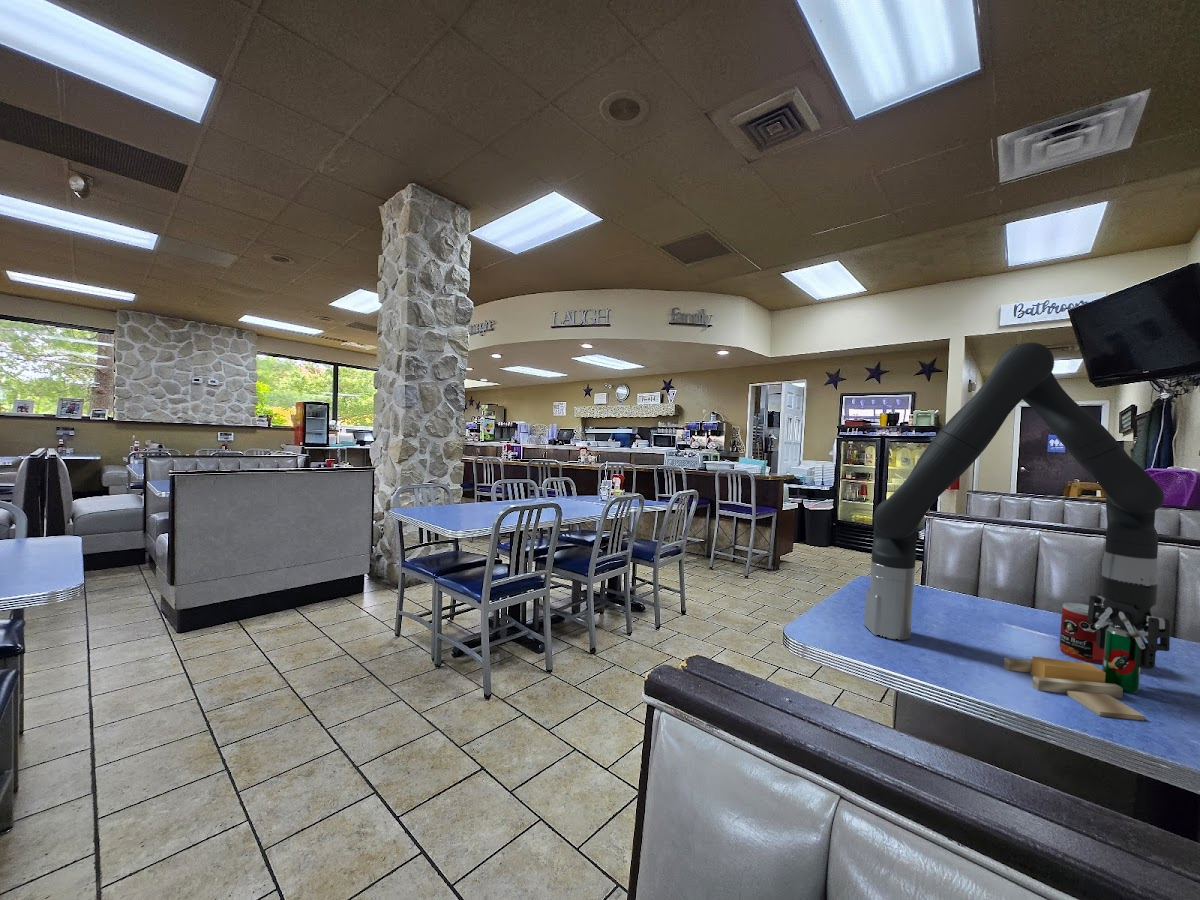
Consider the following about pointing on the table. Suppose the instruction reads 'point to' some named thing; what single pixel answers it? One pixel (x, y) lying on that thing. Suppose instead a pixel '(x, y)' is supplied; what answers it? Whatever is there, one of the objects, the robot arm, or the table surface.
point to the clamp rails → (1063, 681)
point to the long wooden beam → (1066, 670)
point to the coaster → (1105, 705)
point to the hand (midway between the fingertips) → (1123, 657)
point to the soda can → (1121, 659)
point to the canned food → (1079, 634)
